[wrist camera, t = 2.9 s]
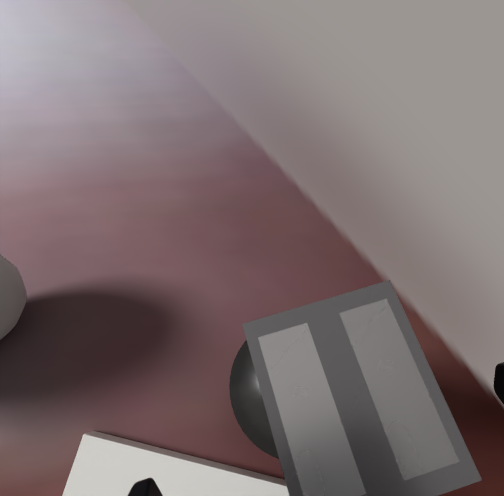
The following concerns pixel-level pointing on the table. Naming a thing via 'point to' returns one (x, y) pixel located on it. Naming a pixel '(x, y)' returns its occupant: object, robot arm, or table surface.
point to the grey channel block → (348, 400)
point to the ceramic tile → (158, 471)
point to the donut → (10, 296)
